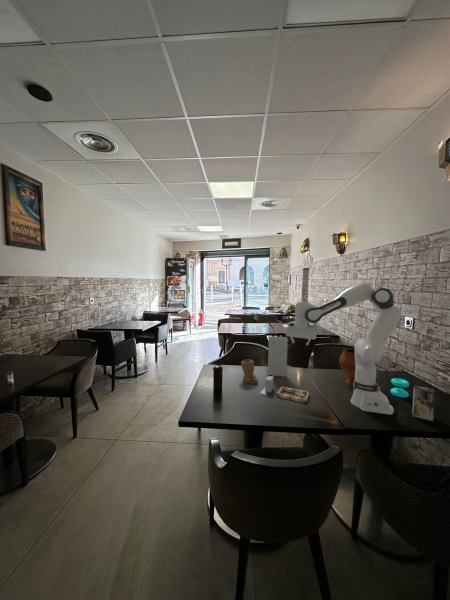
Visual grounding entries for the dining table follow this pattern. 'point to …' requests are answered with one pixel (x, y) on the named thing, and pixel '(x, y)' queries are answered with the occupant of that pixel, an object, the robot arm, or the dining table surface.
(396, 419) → the dining table surface
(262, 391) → the mat
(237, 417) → the dining table surface
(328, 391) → the dining table surface
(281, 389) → the wooden tray
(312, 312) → the robot arm
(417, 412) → the grey picture frame
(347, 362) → the terracotta vase
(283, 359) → the grey box
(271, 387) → the blue grey block
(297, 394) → the offcut upper
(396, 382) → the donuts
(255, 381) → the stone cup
